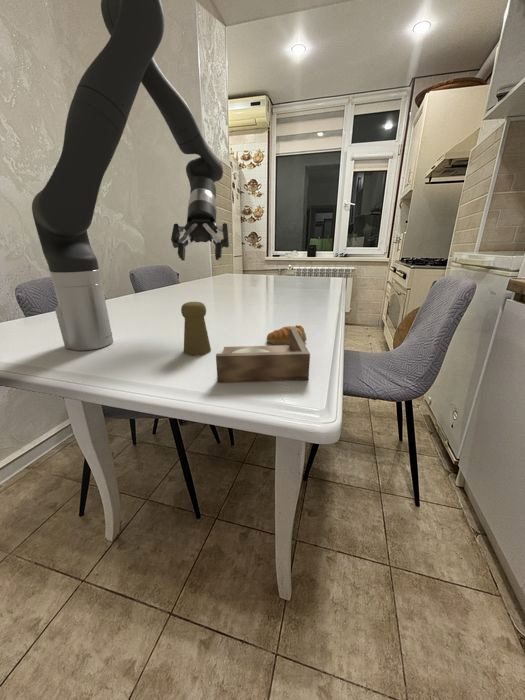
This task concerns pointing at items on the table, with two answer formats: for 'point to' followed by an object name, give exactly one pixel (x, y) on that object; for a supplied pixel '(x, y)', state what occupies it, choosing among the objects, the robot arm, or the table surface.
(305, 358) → the corner tray
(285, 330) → the pastry
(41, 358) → the table surface
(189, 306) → the cork
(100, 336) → the robot arm
